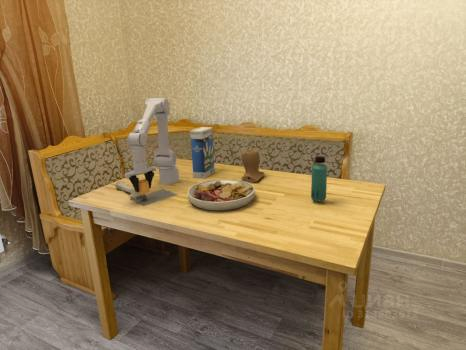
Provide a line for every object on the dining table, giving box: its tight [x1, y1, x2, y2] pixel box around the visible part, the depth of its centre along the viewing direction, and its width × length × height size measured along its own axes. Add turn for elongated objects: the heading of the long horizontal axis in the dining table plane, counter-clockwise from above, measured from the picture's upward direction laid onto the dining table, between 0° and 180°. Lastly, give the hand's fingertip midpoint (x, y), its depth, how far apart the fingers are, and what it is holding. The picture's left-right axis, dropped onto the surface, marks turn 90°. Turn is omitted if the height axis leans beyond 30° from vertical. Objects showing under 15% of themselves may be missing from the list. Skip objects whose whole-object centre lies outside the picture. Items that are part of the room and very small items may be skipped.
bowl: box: [187, 178, 256, 212], centre depth 149 cm, size 30×30×8 cm
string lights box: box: [189, 126, 215, 179], centre depth 183 cm, size 13×8×26 cm, turn 159°
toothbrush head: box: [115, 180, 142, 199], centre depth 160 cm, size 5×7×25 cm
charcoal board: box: [129, 188, 178, 207], centre depth 153 cm, size 18×12×4 cm, turn 135°
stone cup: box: [240, 149, 265, 183], centre depth 176 cm, size 15×12×15 cm
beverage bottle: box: [310, 155, 328, 202], centre depth 141 cm, size 6×7×20 cm
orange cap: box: [137, 178, 150, 194], centre depth 148 cm, size 5×5×5 cm
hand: (143, 189), depth 148 cm, fingers closed on orange cap, 5 cm apart
